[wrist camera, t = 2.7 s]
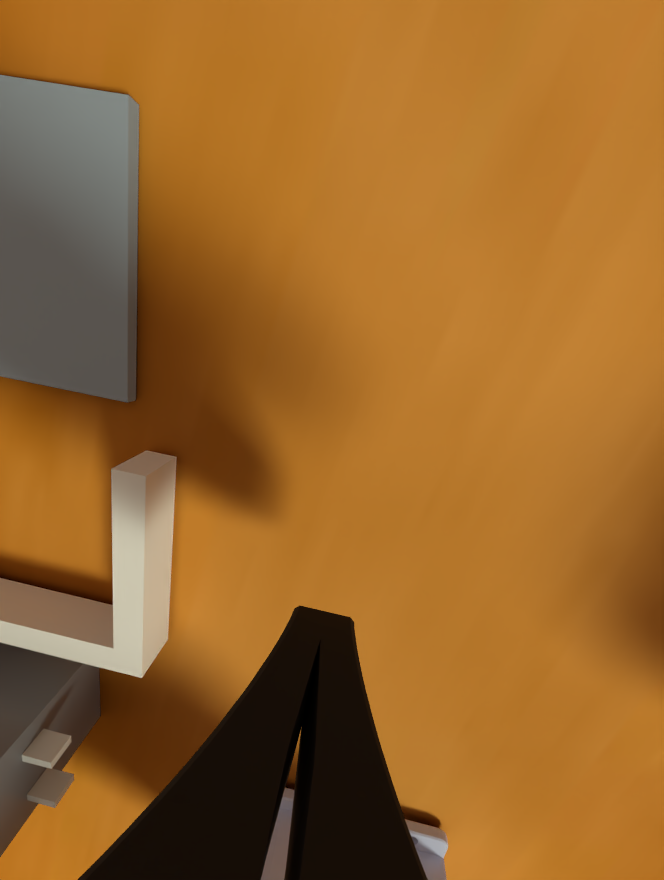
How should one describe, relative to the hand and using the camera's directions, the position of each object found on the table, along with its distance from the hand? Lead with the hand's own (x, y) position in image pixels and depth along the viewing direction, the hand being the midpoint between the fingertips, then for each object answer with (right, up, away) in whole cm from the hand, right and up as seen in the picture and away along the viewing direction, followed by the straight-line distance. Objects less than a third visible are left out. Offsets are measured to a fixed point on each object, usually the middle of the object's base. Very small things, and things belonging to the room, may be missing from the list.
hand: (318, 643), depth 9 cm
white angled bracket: (-11, +2, +4) cm, 12 cm away
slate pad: (-10, +11, +2) cm, 15 cm away
